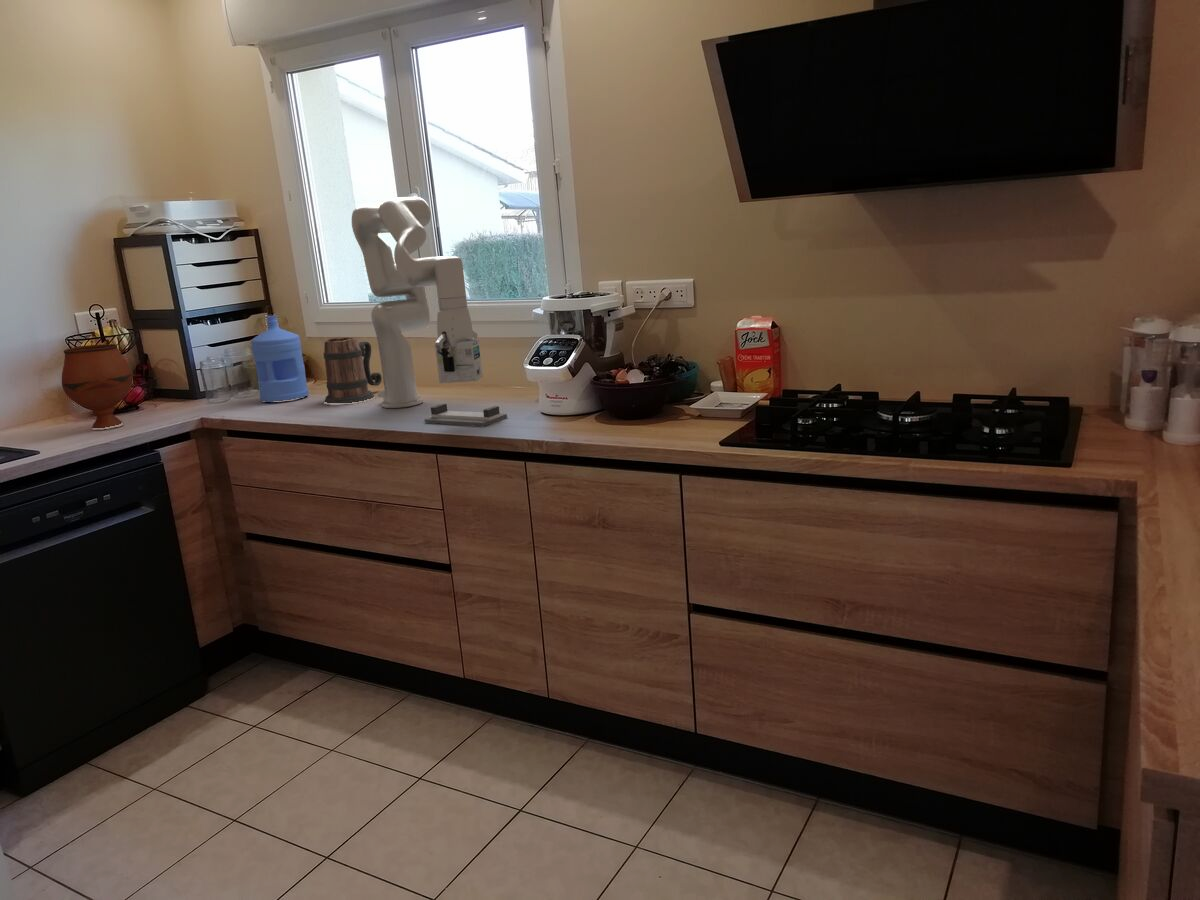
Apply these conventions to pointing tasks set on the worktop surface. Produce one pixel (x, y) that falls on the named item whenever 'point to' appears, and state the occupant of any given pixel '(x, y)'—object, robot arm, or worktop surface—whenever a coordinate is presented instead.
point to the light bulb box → (462, 363)
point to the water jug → (279, 364)
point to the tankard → (348, 370)
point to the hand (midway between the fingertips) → (460, 368)
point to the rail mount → (464, 416)
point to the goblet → (97, 380)
